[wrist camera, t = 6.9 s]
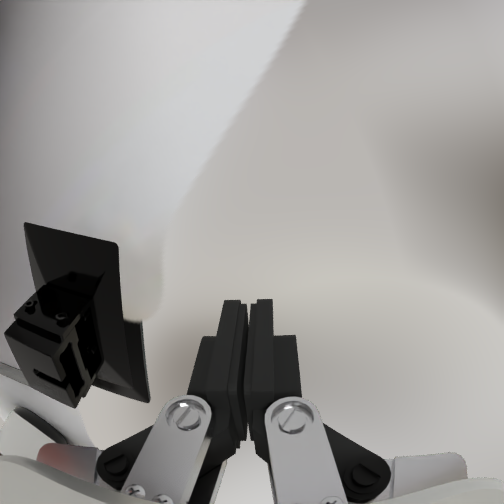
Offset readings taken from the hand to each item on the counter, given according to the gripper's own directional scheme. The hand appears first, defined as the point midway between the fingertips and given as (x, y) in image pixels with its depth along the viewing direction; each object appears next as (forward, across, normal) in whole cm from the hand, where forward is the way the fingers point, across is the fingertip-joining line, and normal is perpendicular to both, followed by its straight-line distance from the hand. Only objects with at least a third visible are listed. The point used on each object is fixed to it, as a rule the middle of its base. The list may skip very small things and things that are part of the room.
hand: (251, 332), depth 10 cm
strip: (+1, +19, +7) cm, 21 cm away
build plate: (+2, +9, +1) cm, 9 cm away
